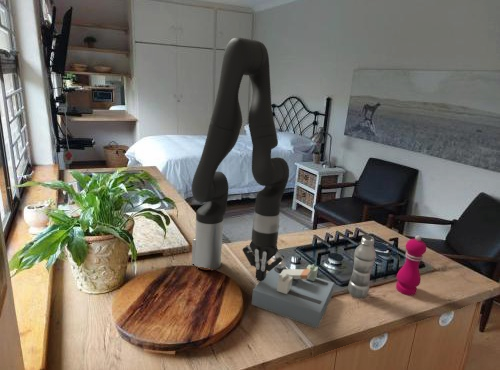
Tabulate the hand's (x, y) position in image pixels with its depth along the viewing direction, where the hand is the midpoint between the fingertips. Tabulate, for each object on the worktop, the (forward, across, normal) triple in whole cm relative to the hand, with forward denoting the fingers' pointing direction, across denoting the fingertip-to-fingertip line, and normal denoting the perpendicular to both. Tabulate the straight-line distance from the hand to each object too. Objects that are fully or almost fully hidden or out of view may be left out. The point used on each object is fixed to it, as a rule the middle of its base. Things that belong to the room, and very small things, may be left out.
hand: (260, 279), depth 106 cm
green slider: (+1, +13, +11) cm, 17 cm away
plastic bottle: (+6, +27, +18) cm, 33 cm away
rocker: (-1, +9, +7) cm, 11 cm away
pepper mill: (+6, +41, +30) cm, 51 cm away
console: (+6, +10, +4) cm, 12 cm away
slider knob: (+1, +8, 0) cm, 8 cm away
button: (+1, +3, +10) cm, 11 cm away
